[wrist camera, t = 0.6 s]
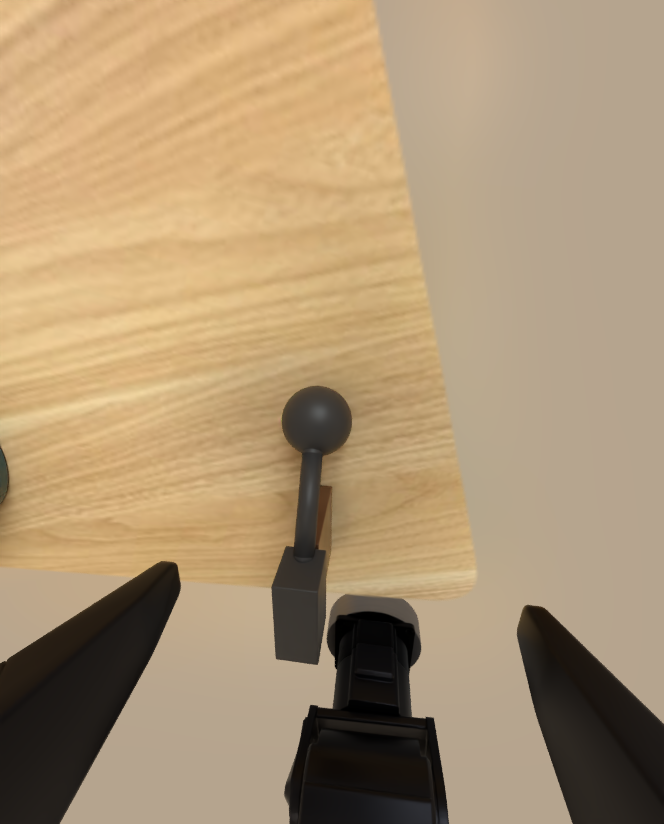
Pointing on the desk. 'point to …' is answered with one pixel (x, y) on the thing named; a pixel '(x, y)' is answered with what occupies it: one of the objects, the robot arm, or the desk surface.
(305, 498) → the ladle
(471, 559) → the desk surface
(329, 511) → the chocolate brown square
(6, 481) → the bowl
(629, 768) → the robot arm
